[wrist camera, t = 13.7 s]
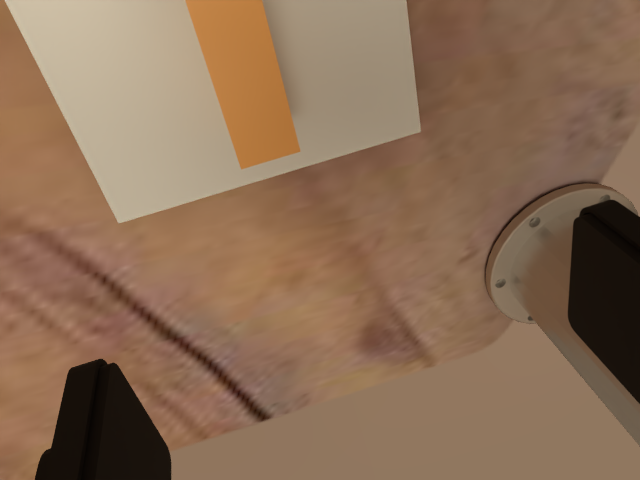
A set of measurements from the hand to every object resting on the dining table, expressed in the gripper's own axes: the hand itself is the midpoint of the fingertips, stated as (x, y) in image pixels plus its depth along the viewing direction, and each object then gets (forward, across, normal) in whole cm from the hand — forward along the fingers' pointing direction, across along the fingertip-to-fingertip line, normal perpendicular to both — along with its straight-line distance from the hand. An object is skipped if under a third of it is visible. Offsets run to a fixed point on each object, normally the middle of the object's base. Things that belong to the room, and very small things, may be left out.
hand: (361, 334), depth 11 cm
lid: (+23, 0, 0) cm, 23 cm away
